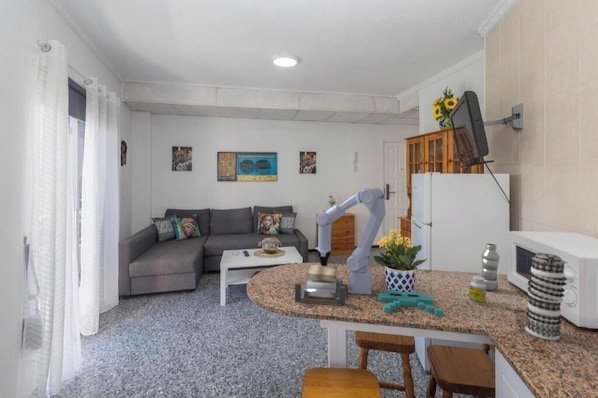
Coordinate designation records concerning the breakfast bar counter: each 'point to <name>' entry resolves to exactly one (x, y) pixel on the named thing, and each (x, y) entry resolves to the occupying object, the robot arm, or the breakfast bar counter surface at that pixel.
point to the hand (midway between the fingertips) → (323, 267)
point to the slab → (322, 273)
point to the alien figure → (407, 301)
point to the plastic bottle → (490, 267)
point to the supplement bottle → (477, 290)
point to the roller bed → (321, 285)
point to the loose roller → (320, 293)
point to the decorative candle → (545, 296)
